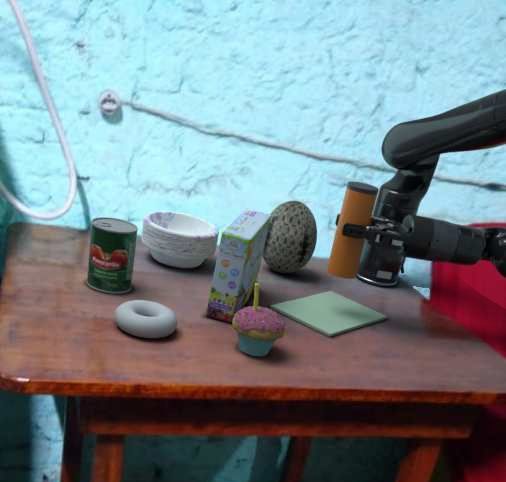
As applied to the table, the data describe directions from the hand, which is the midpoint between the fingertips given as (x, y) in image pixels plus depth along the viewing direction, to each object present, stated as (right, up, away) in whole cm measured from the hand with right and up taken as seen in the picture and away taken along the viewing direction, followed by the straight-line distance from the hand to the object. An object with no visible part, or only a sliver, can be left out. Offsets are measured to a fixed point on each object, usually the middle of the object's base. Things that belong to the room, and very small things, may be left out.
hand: (339, 224), depth 133 cm
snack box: (-19, -13, +4) cm, 24 cm away
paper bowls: (-31, -2, +18) cm, 36 cm away
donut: (-33, -21, -14) cm, 42 cm away
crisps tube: (+1, -8, +5) cm, 9 cm away
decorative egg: (-10, -3, +26) cm, 28 cm away
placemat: (-1, -14, +9) cm, 17 cm away
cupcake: (-16, -24, -13) cm, 32 cm away
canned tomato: (-41, -11, -1) cm, 43 cm away
